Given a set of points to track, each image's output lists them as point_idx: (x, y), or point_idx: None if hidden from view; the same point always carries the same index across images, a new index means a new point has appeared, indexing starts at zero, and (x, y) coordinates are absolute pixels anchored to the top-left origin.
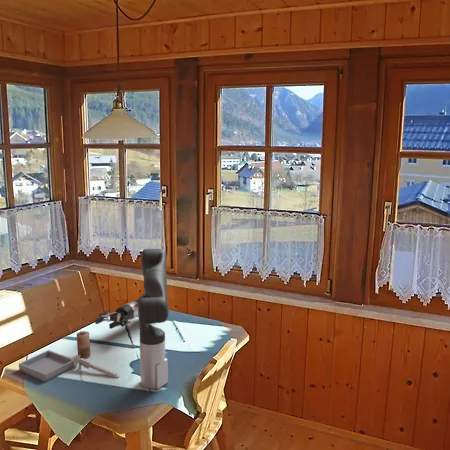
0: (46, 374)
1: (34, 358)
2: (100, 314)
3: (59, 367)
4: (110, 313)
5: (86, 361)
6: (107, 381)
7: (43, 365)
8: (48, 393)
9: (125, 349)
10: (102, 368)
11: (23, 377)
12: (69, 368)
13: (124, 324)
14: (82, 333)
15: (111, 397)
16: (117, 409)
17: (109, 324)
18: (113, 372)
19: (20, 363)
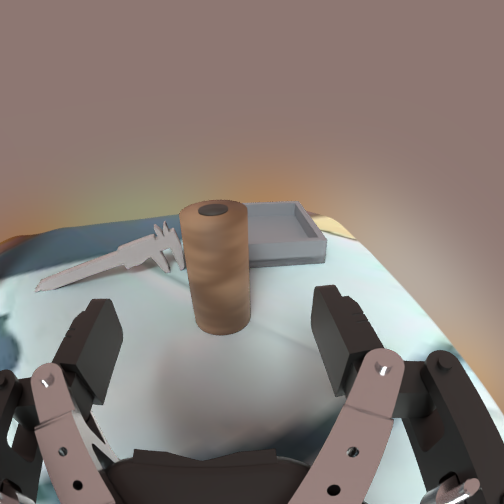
0: None
1: (304, 218)
2: (439, 361)
3: None
4: (348, 481)
5: (128, 243)
6: (58, 271)
7: (266, 232)
8: (160, 216)
9: None
10: (77, 267)
11: None
12: None
13: (17, 438)
14: (215, 208)
15: (38, 250)
16: (24, 242)
17: (109, 300)
18: (47, 279)
19: (297, 202)
